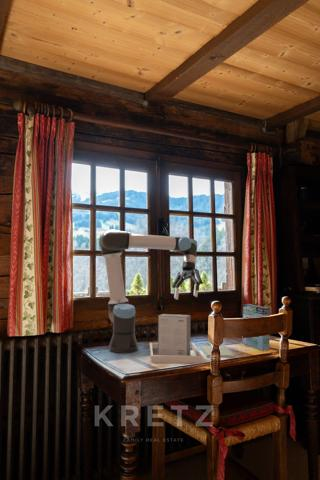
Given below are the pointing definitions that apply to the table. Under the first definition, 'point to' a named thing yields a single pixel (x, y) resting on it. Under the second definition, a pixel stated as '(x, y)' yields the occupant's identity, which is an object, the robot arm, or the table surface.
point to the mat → (224, 350)
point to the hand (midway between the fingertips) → (185, 297)
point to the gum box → (256, 311)
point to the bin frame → (176, 358)
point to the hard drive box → (173, 335)
